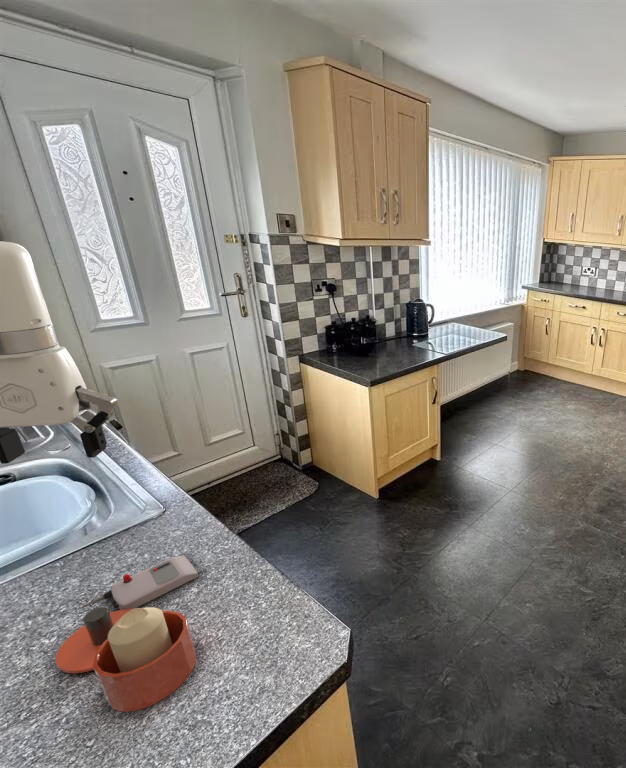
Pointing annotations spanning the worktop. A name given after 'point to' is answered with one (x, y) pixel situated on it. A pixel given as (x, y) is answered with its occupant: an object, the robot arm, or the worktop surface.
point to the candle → (139, 638)
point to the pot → (147, 670)
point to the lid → (87, 640)
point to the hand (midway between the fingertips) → (56, 455)
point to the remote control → (149, 583)
